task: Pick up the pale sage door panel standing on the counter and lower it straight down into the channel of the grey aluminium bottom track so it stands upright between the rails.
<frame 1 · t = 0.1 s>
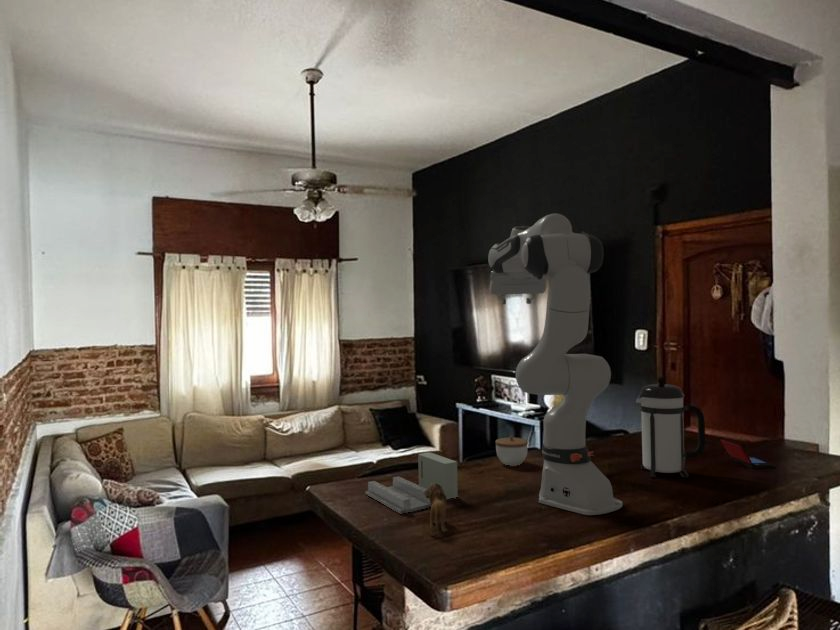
hand: (515, 303, 215), 54 cm above the worktop, tool tilted 30°, fingers open, 8 cm apart
lion figurine: (436, 527, 139), on the worktop
lidded jar: (512, 464, 196), on the worktop
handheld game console: (746, 465, 190), on the worktop
coffee press: (667, 473, 181), on the worktop
door panel: (437, 492, 166), on the worktop
bottom track: (401, 500, 159), on the worktop
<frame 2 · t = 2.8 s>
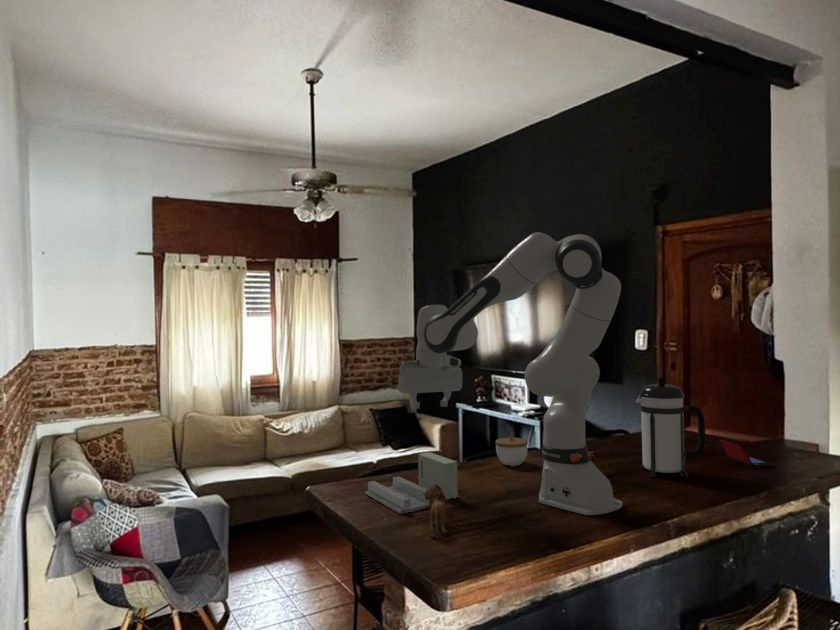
hand: (430, 407, 170), 24 cm above the worktop, tool pointing down, fingers open, 8 cm apart
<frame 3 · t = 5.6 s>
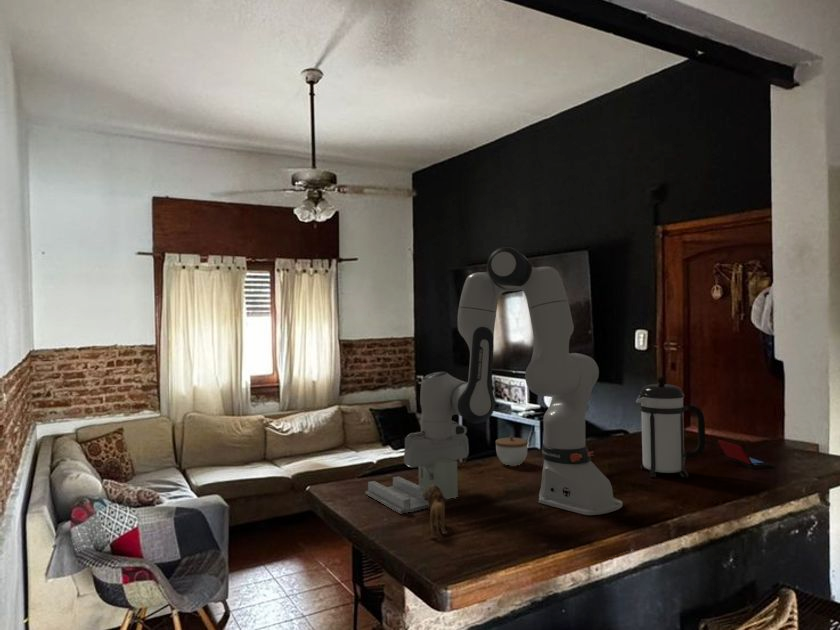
hand: (437, 478, 166), 4 cm above the worktop, tool pointing down, fingers closed on door panel, 4 cm apart
door panel: (437, 492, 166), on the worktop, touching gripper
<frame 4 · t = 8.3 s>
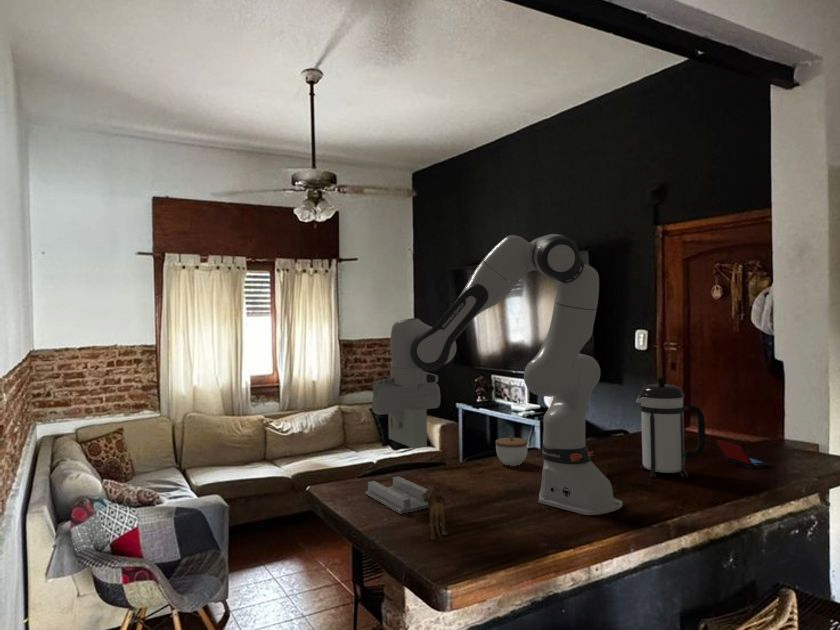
hand: (407, 427, 161), 20 cm above the worktop, tool pointing down, fingers closed on door panel, 4 cm apart
door panel: (407, 442, 161), point 16 cm above the worktop, touching gripper
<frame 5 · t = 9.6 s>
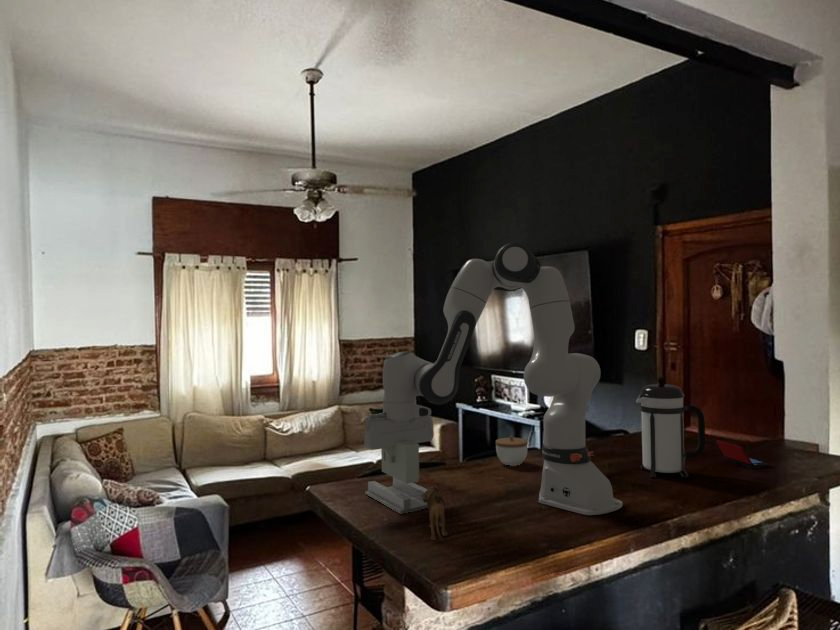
hand: (399, 461, 160), 11 cm above the worktop, tool pointing down, fingers closed on door panel, 4 cm apart
door panel: (399, 476, 160), point 6 cm above the worktop, touching gripper
when the fingers open (7 cm above the worktop, at t = 10.7 s): door panel drops 1 cm, resting on bottom track.
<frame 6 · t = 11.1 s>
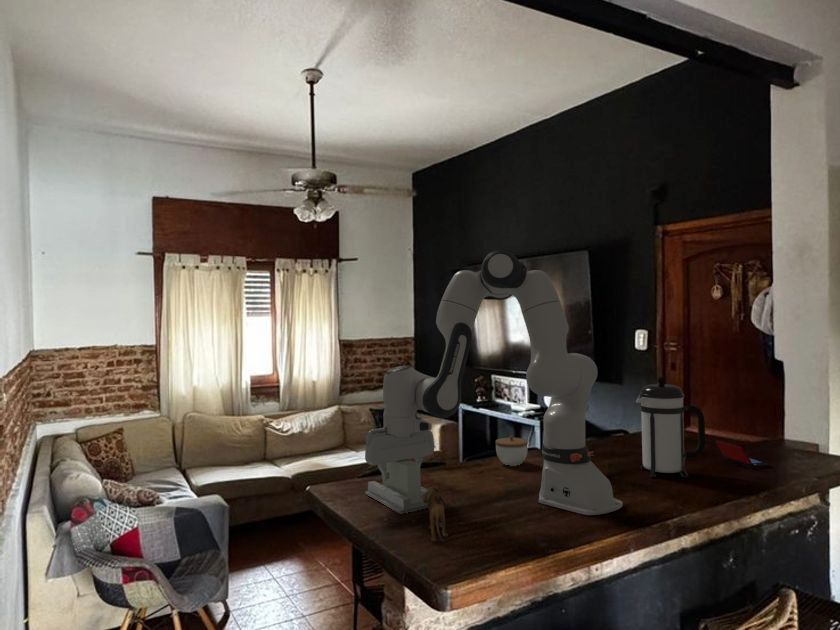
hand: (400, 476, 159), 7 cm above the worktop, tool pointing down, fingers open, 8 cm apart
door panel: (401, 496, 159), point 1 cm above the worktop, touching bottom track
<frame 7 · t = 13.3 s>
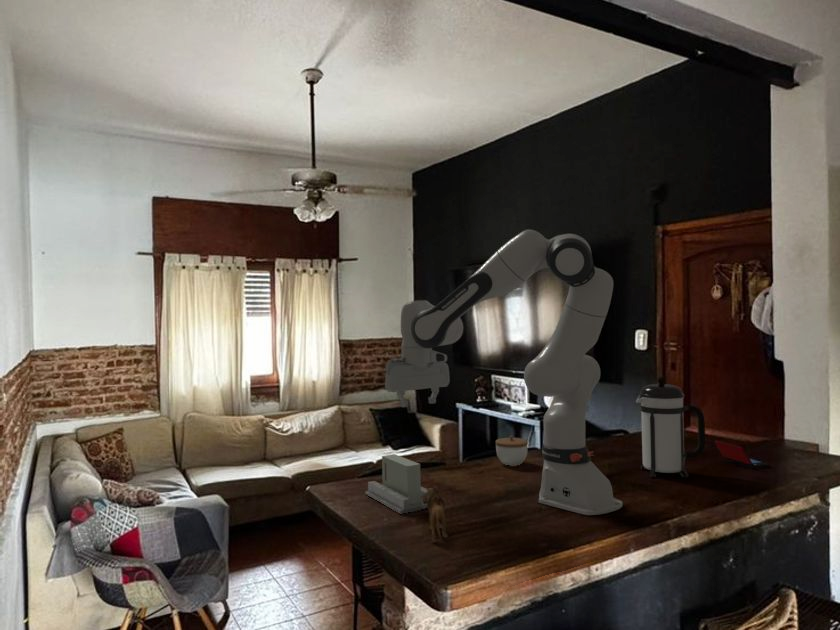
hand: (418, 405, 167), 25 cm above the worktop, tool pointing down, fingers open, 8 cm apart
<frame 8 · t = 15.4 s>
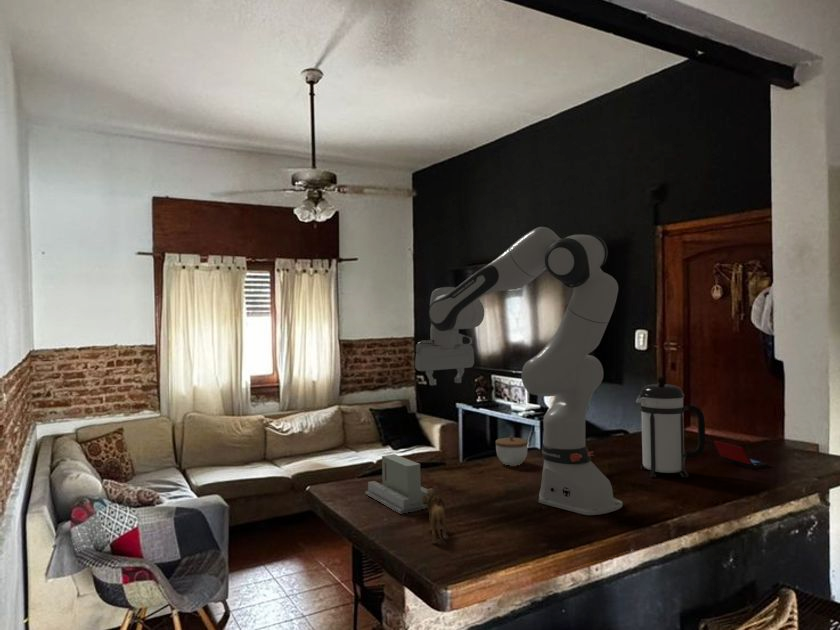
hand: (445, 383, 181), 29 cm above the worktop, tool pointing down, fingers open, 8 cm apart
at the end: door panel 0.1 cm off-centre on the bottom track, point 1.0 cm above the bottom track's base; door panel tilted 0°; the gripper is holding nothing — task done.
